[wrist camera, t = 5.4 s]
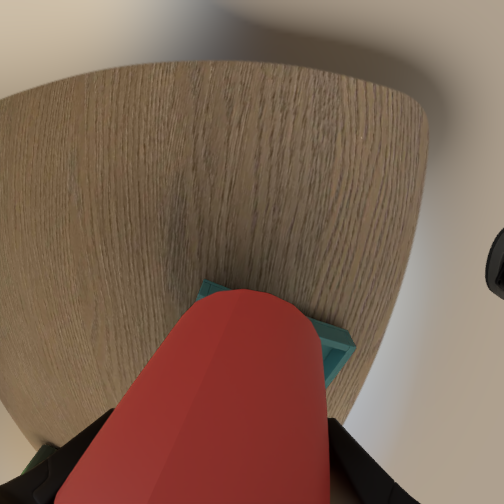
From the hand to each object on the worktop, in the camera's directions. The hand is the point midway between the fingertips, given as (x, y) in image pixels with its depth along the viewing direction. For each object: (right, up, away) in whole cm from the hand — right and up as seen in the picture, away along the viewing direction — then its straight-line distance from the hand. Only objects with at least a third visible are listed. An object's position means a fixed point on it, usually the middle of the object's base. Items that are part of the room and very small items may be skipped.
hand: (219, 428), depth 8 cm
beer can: (+1, +1, +5) cm, 5 cm away
